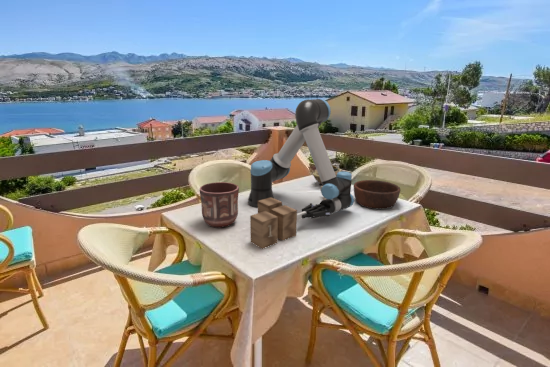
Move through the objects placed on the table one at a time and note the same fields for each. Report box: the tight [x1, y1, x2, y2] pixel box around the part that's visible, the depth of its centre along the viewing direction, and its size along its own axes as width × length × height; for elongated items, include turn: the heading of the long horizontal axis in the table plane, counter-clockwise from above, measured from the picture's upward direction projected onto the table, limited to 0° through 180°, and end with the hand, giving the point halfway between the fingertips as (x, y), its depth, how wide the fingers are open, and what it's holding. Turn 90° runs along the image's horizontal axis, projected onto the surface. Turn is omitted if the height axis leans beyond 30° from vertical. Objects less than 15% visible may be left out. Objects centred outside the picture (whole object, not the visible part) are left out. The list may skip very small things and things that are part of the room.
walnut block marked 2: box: [257, 197, 283, 213], centre depth 148 cm, size 8×8×12 cm
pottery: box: [199, 181, 240, 229], centre depth 149 cm, size 18×18×18 cm
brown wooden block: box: [271, 204, 298, 241], centre depth 138 cm, size 8×8×12 cm
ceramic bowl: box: [312, 164, 343, 187], centre depth 209 cm, size 24×18×15 cm
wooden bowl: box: [353, 179, 401, 210], centre depth 178 cm, size 25×25×10 cm
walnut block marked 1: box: [249, 211, 278, 250], centre depth 131 cm, size 8×8×12 cm
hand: (295, 217), depth 142 cm, fingers closed
